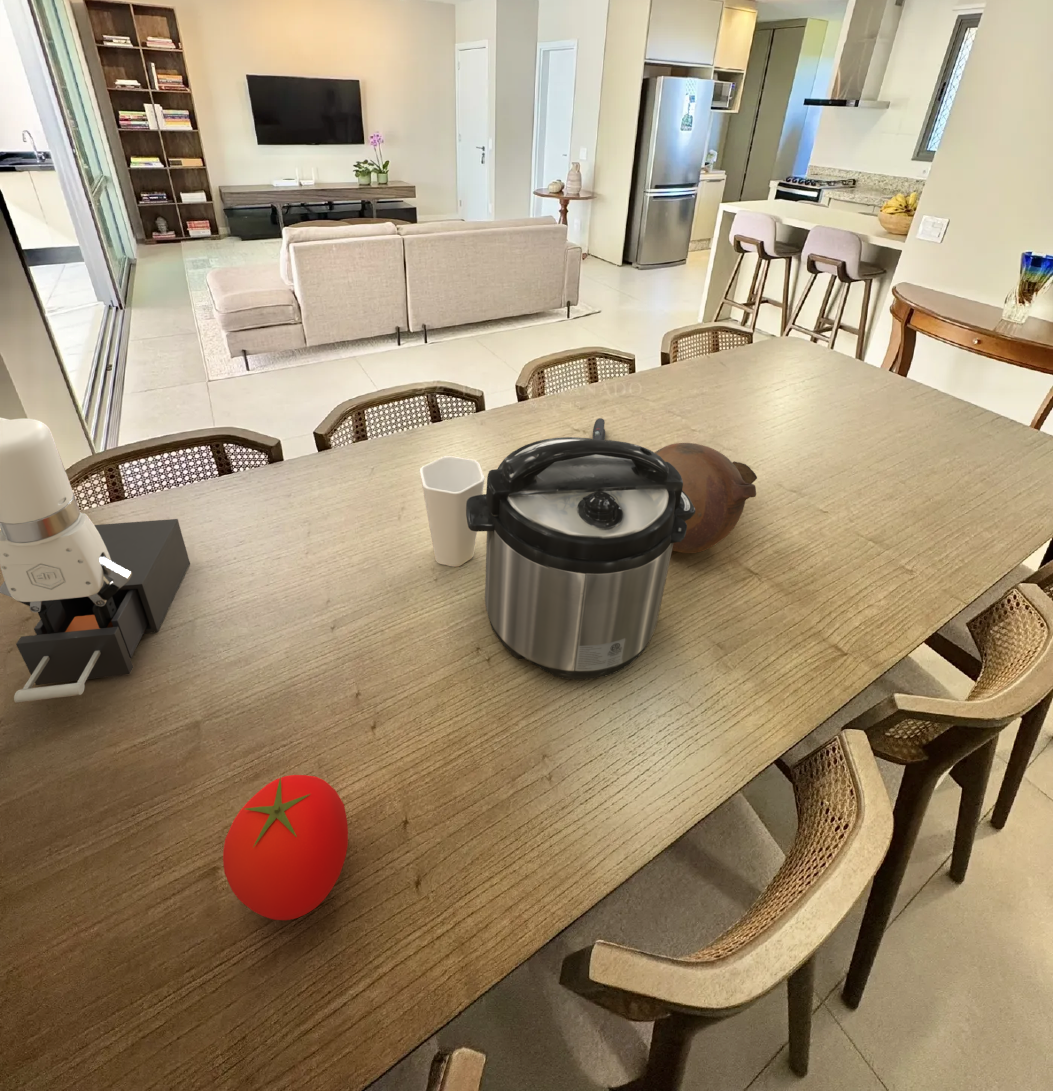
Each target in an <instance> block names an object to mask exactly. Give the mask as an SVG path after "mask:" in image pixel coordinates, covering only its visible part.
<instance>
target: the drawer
mask: <svg viewBox="0 0 1053 1091" xmlns="http://www.w3.org/2000/svg"><path fill="white" fill-rule="evenodd" d="M112 598H113V601H114V603H115V606H116V613H115V615H114V617H113V619H112V620H111V622H112V625H113V627H111V628H101V629H91V630H81V631H71V632H65V631H66V630H67V628H68V627H69V625H70V623H71V622H72V620H73V619H74V617H76V616H86V615H94V613H93V610H92V608H93V606H94V605H95V603H94V602H93V601H92V600H91V599H90V598H89V597H88V596H87V597H79V598H69V599H59V600H60V602H61V604H62V607H63V609H64V612H65V614H66V618H65V619H64V621H63V622H62V624H61V625H60V627H59V628H58V630H57V631H56V633H52V634H48V633H47V630H46V628H45V626H44V625H43V623H42V621H41V619H39V620H38V622H37V623H36V625H35V626H34V627H33V630H34V632H35V634H33V635H24V636H20V638H19V639H18V640H17V642H16V643H15V646H16V648H17V649H18V652H19V653H20V656H21V658H22V660H23V662H24V664H25V666H26V668H27V670H28V672H29V674H30V677H29V678H28V680H27V681H26V683H25V684H24V686H23V687H22V688H21V689H18V690H16V691H15V693H14V696H13V701H14V702H15V703H24V702H33V701H40V700H41V701H42V700H48V699H49V700H50V699H57V698H65V697H66V698H67V697H76V696H81V695H83V693H84V691H85V687H86V685H85V684H86V681H87V680H93V679H101V678H110V677H120V676H128V675H131V673H132V671H133V669H134V665H133V662H132V659H131V658H133V655H134V653H135V651H136V649H137V647H138V645H139V644H140V641H141V639H142V637H143V635H144V634H145V633H144V631H145V629H146V627H147V625H148V623H149V621H148V618H147V615H146V612H145V609H144V606H143V603H142V600H141V597H140V595H139V592H138V589H128V590H117V592H116V593H115V594H114V595H113V596H112ZM143 633H144V634H143ZM76 681H77V682H76ZM69 682H72V683H69ZM59 683H63V684H59ZM64 683H65V684H64ZM49 684H56V685H49ZM34 685H35V686H39V685H40V686H39V687H33V686H34ZM41 685H48V686H41Z"/></svg>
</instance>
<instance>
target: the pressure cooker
mask: <svg viewBox="0 0 1053 1091" xmlns="http://www.w3.org/2000/svg"><path fill="white" fill-rule="evenodd" d="M654 452H655V451H653V450H651V449H649V448H647V447H644V446H641V445H637V444H635V443H631V442H627V441H619V440H612V439H605V440H597V439H592V438H588V437H579V436H578V437H575V436H574V437H573V436H564V437H552V438H545V439H541V440H536V441H533V442H531V443H528V444H524V445H522V446H520V447H518V448H517V449H515V450H513V451H512V452H510V453H509V454H508V455H507V456H506V457H504V459H503V460H502V461H501V463H500V464H499V465H498V466H497V468H495V469H490V470H489V471H488V473H487V476H486V492H485V493H483V494H482V495H476V496H472V497H470V498H468V500H467V503H466V517H467V523H468V527H469V529H470V530H471V531H477V532H486V546H485V547H486V548H485V550H486V551H485V577H484V578H485V582H484V604H485V610H486V615H487V618H488V620H489V625H490V627H491V629H492V631H493V633H494V635H495V637H496V638H497V639H498V640H499V642H500V643H501V644H502V645H503V647H504V648H505V649H506V650H507V651H508V652H509V653H510V655H512V656H513V657H514V658H516V659H517V660H521V661H522V660H528V662H529V663H530V664H532V665H533V666H534V665H535V666H536V667H539V668H540V670H542V671H544V672H546V673H549V674H550V675H552V677H555V678H560V679H565V680H574V681H581V680H582V681H585V680H594V679H595V680H596V679H599V678H604V677H607V676H610V675H613V674H615V673H618V672H619V671H621V670H623V669H625V668H626V667H628V666H630V665H631V664H632V663H633V662H634V661H635V660H637V659H638V658H639V657H640V656H641V655H642V653H644V651H645V650H646V649H647V647H648V646H649V645H650V642H651V641H652V640H653V636H654V633H655V631H656V629H657V625H658V621H659V620H658V619H659V614H660V610H661V605H662V600H663V596H664V591H665V586H666V582H667V577H668V572H669V566H670V561H671V556H672V552H673V550H672V548H673V543H676V542H681V541H682V540H683V539H684V537H685V534H686V530H687V524H686V522H685V521H686V520H688V519H690V518H691V517H692V516H693V515H694V514H695V508H694V506H693V504H692V502H691V500H690V499H689V497H688V496H687V495H686V494H685V492H684V491H683V490H682V488H683V480H682V477H681V475H680V473H679V472H678V471H677V470H676V469H675V467H674V466H672V465H671V464H670V463H669V462H665V461H664V460H663V459H662V458H661V457H660V456H659V455H657V454H656V453H654Z"/></svg>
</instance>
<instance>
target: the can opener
mask: <svg viewBox="0 0 1053 1091" xmlns="http://www.w3.org/2000/svg"><path fill="white" fill-rule="evenodd" d="M592 428H593V429H592V438H591V439H597V440H606V429H605V419H604V418H601V417H600V418H597V419H596V420H595V422H594V424H593V427H592Z"/></svg>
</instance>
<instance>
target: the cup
mask: <svg viewBox="0 0 1053 1091" xmlns="http://www.w3.org/2000/svg"><path fill="white" fill-rule="evenodd" d="M419 475H420V476H419V477H420V481H421V487H422V493H423V498H424V504H425V510H426V516H427V522H428V528H429V532H430V538H431V543H432V545H431V546H432V550H433V554H434V559H435V562H436V563H438V564H440V565H444V566H448V567H454V568H456V567H460V566H463V565H464V564H465V563H466V562H468V561H470V560H472V559H473V557H474V555H475V549H476V540H477V535H478V531H471V530H470V529H469V527H468V523H467V517H466V503H467V500H468V498H470V497H472V496H476V495H482V494H484V487H485V486H484V485H485V480H486V477H485V475H484V472H483V470H482V467H481V465H480V462H479V461H478V460H476V459H473V458H472V459H471V458H465V457H459V456H453V455H444V456H440V457H439V458H437V459H435V460H433V461H431V462H429V463H426V464H425V465H423V466H420V468H419Z"/></svg>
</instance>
